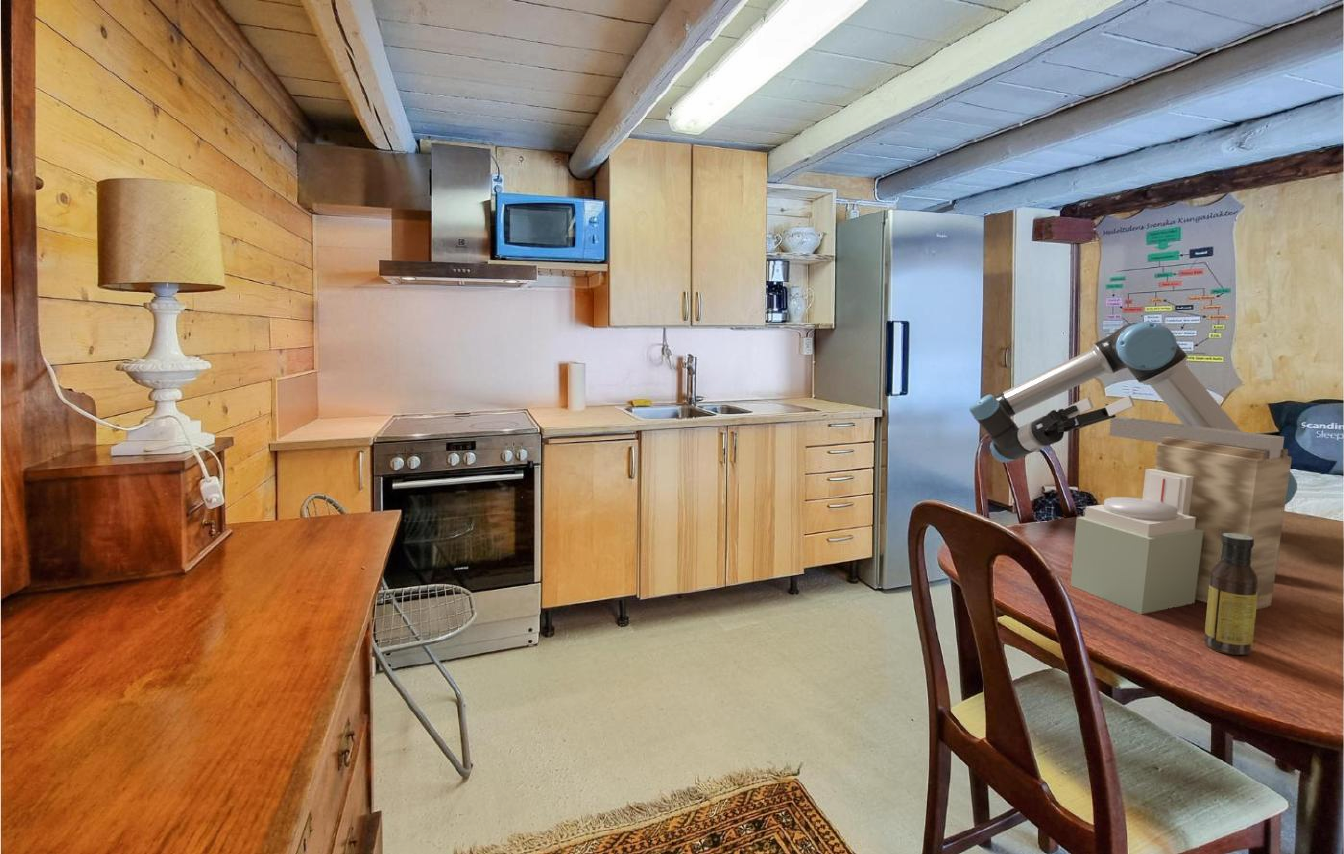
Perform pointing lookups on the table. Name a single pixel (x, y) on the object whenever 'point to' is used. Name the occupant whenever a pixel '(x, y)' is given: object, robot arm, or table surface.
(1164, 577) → the block
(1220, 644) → the sauce bottle
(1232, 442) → the bar
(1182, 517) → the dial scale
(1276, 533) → the birch stand
